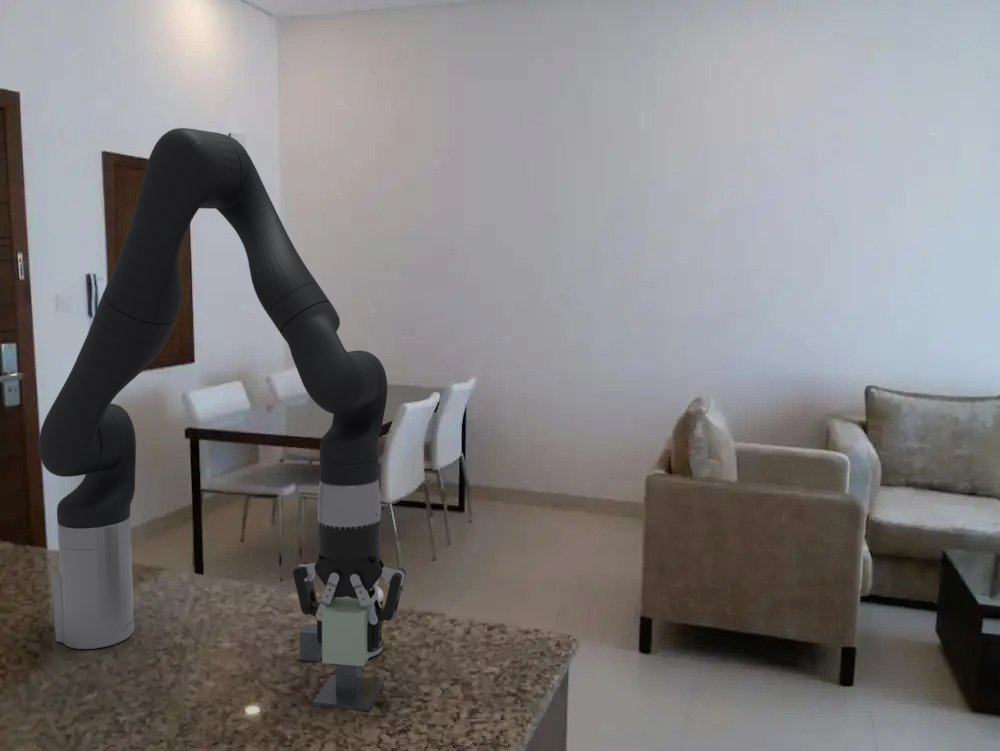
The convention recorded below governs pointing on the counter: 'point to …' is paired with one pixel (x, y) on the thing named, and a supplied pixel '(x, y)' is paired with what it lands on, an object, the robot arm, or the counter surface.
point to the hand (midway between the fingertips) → (349, 647)
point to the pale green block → (345, 632)
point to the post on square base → (348, 689)
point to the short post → (310, 644)
